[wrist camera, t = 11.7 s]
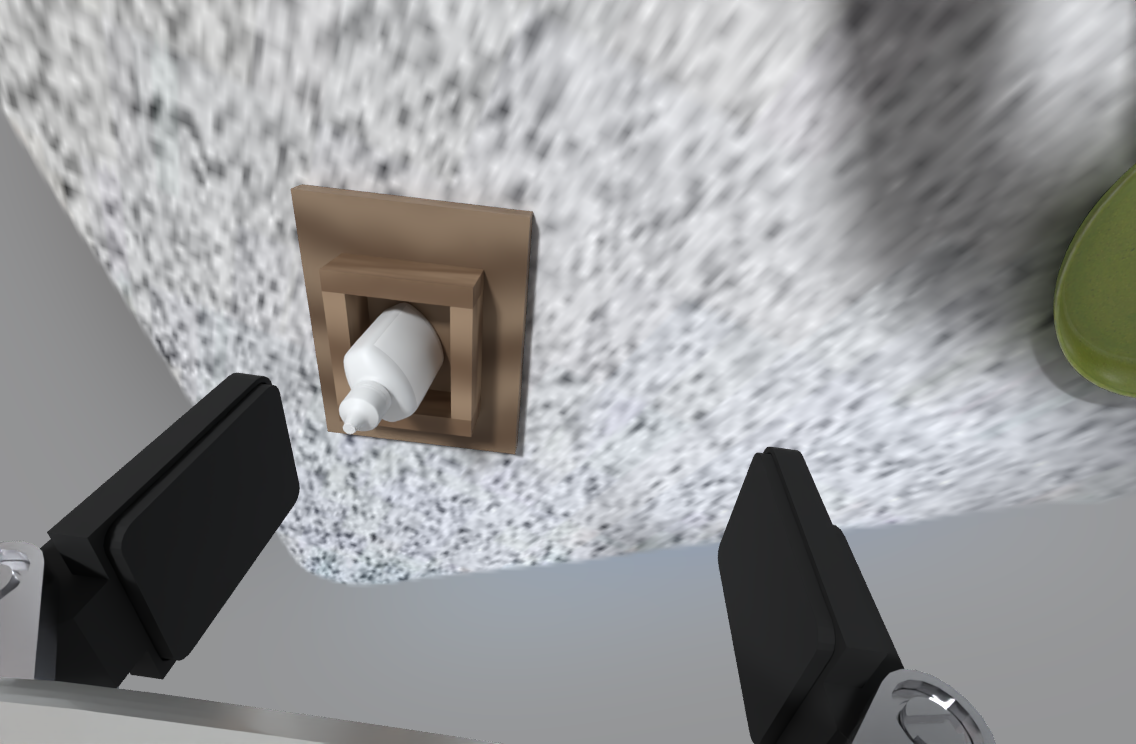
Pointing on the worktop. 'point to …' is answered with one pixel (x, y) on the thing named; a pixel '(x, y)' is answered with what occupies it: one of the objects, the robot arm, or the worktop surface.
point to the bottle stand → (422, 303)
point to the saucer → (1102, 292)
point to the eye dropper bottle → (390, 369)
